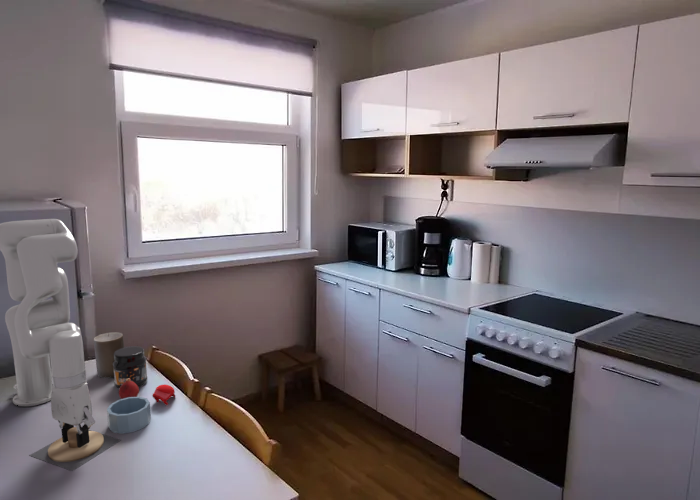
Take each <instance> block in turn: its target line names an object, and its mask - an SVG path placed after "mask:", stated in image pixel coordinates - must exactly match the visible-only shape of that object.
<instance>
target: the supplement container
mask: <svg viewBox="0 0 700 500" xmlns="http://www.w3.org/2000/svg"><path fill="white" fill-rule="evenodd" d="M113 369H114V377H113V379H114V381H113V382H114V386H115V387H116V388H117V389H118V390H119V389H120V387H121V385H122V384H123V383H124V382H126V380H127V379H128V378H130V379H131V380H130V381H132V382H134V383H136V384H137V386H138V388H141V387H143V386H144V385H145V384H146V383H147V382H148V371H147V370H148V369H147V357H146V356H145V349H144V348H143V347H141V346H138V345H137V346H135V345H132V346H124V348H121V349H118V350H116V351H115V352H114V361H113Z"/></svg>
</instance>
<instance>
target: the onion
mask: <svg viewBox="0 0 700 500" xmlns="http://www.w3.org/2000/svg"><path fill="white" fill-rule="evenodd" d="M130 380H131V379H130V378H128V379H127V380H126V382H124V383H123V384H122V385H121V387H120V389H119V388H118V396H119V398H120V399H124V398H128V397H138V395H139V392H140V389H139V388H140V387H138V386H137V384H136V383H134V382H132V381H130Z"/></svg>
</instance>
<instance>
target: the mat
mask: <svg viewBox="0 0 700 500" xmlns="http://www.w3.org/2000/svg"><path fill="white" fill-rule="evenodd" d="M89 431H92V430H90V429H89ZM101 434H102V435H103V438H104V443H103V446H102V447H101V448H100V449H99V450H98V451H97V452H95V453H94V454H92V455H90V456H88V457H85V458H83V459H79V460H76V461H70V462H57V461H53V460H51V459H50V458H49V456H48V449H49V447H50V445H51V444H52V443H54V442H55V441H53V442H51V443H49V444H47V445H45V446H44V447H42V448H40V449H39V450H36V451H34V452H32V453H31V454H29V457H32V458H35V459H37V460H41V461H42V462H46V463H48V464H52V465H54V466H56V467H60V468H63V469H66V470H68V471H71V472H73V471H75V470H76V469H77V468H80V467H81V466H83V465H84V464H86V463H87V462H90V460H92V459H94V458H96V457H97V456H98V455H101V454H102V453H103V452H106V451H107V450H108V449H110V448H112V447H113V446H114V445H117V444H119V443H120V442H121V441H122V439H120V438H117V437H114V436H110V435H107V434H104V433H101Z"/></svg>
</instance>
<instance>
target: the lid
mask: <svg viewBox="0 0 700 500" xmlns="http://www.w3.org/2000/svg"><path fill="white" fill-rule="evenodd" d="M77 433H78V431H77V428H76V426H75V427H73V428H71V429H69V430H68V431H67V435H68V442H66V443H63V441H62V437H60V438H58V439H57V440H54V441H53V442H54V443H53V442H51V443H52V444H51V443H50V444H51V445H50V447H49V449H48V456H49V458H50V459H51V460H53V461H57V462H70V461H76V460H79V459H83V458H85V457H88V456H90V455H92V454H94V453H95V452H97V451H98V450H99V449H100V448H101V447H102V446H103V443H104V438H103V435H102V434H103V433H101V432H99V431H94V430H91V431H89V440H90V441H89V443H87V444H86V445H84V446H82V447H81V448H78V447H77V438H76V434H77Z"/></svg>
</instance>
